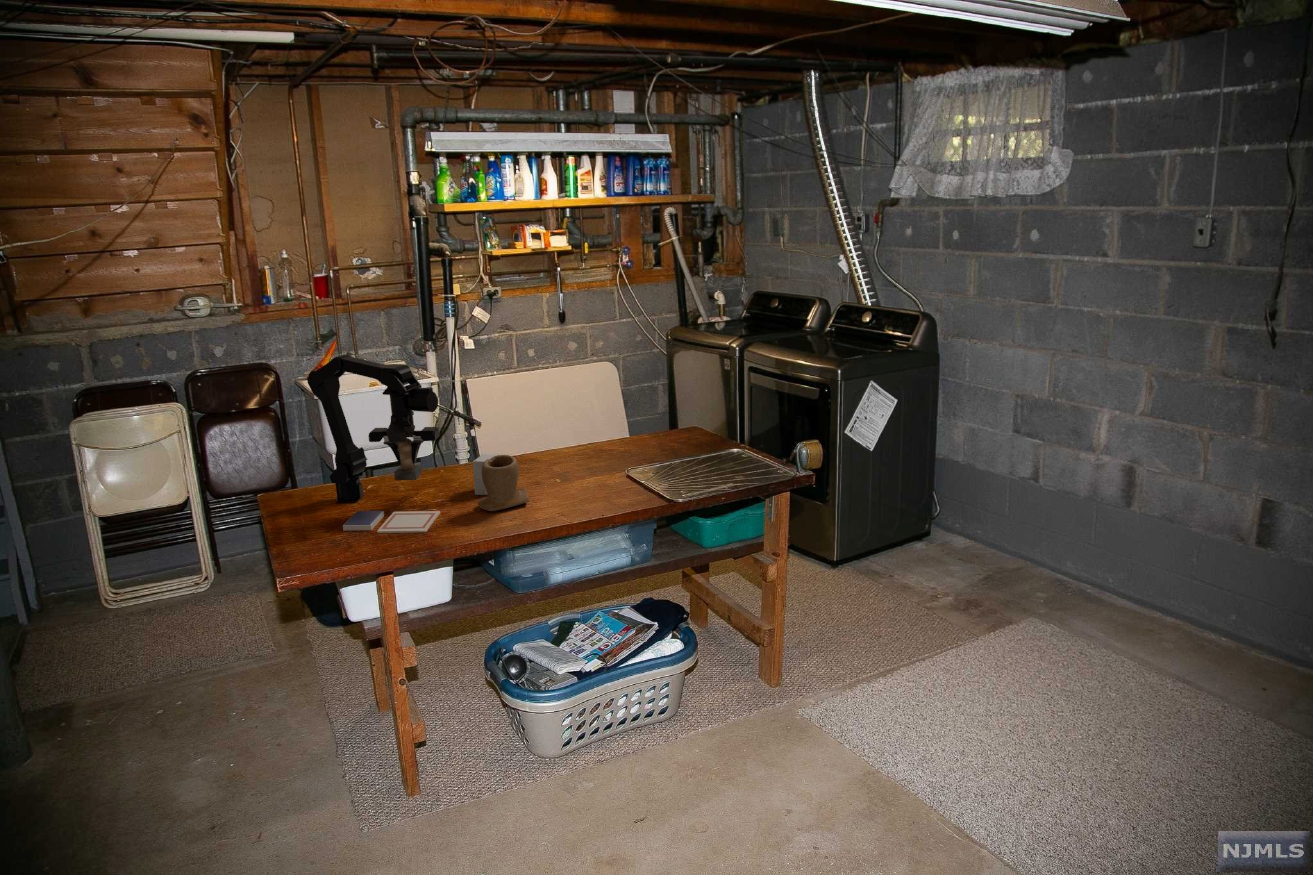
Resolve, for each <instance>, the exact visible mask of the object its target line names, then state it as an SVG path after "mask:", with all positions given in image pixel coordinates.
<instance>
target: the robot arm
mask: <svg viewBox="0 0 1313 875" xmlns="http://www.w3.org/2000/svg"><path fill="white" fill-rule="evenodd" d="M345 373H349V374H352V375H358V376H362V377H366V378H371V379H374V380H376V381H378V382H379V383H380V384H381V385H384V386H385V387H386V388H385V390H383V392H381V393H382V395H385V396H389V401H390V410H391V415H390V423H389V425H388V427H374V428H373V429H372V430H371V431H370V432H369V433H368V442H369V443H380V442H381V441H382V440H383V442H382V443H383V445H387V446H388V447H389V448H390V449H391V451H392V452H393V454H394V456H395V458H396V460H397V462H398V464H399V465H401V462H400V452H399V450H398V447H397V444H398V442H405V441H406V438H412V440H411V441H412V442H411V445H412V461H413V464H414V465H415V464H416V460H417V458H418V454H419V451H420V449H421V445H422V444H423V443H424V442H435V441H436V440H437V439H438V438H439V437H440V436H441V435H440V429H439V427H438V426H424V427H423V429H421V430H415V429H416V425H415V423H414V422H415V420H414V414H415V413H414V412H424V413H434V412H435V411H436V410H437V409H438V405H439V398H438V396H437V394H436V392H435V391H434V388H433V387H431V386H427V387H422V384H421V383H420V381H418V379H417V378H416V376H415V375H414V374H413V371H412V369H411V368H410V366H409V365H407V364H403V363H389V364H388V363H386V364H385V363H384V364H382V363H377V362H374V361H369V360H365V359H362V358H358V357H353V356H350V355H348V354H341V355H338V356H334V357H333V358H332V359H331V360H329V362H327V363H325V364H324V365H323V366H321V367H319V368H318V369H316V370H313V371H310V372H309V374H308V376H307V377H306V378H307V379H306V380H307V385H308V386H309V388H310V391H311V393H312V395H314V396H315V397H316V398H317V399H318V400H319V401H320V403H321V405H322V408H323V411H324V414H325V418H326V421H327V425H328V426H329V427H328V428H329V430H330V432H331V436H332V439H333V443H334V445H335V448H336V450H335V457H334V463H335V469H334V470H333V471H332V472H331V474H330V475H329V479H330V480H329V481H330V482H331V483H332V484H334V485H335V491H336V499H335V500H334V502H335V503H337V504H338V503H340V504H341V503H358V502H359V501H360V500H361V499H362V498H363V497H364V495H365V494H364V490H363V483H362V482H361V479H360V478H361V477H362V476H363V475H364V471H365V470H366V467H367V465H368V463H367V461H368V458H367V456H366V453H365V450H364V447H358V446H357V445H356V444H354V443H355V442H354V440H353V438H352V434H351V432H350V428H349V425H348V421H347V419H346V416H345V412H344V408H343V406H342V404H341V400H340V398H339V393H340V389H341V384H340V378H341V377H342V376H343V375H344V374H345Z"/></svg>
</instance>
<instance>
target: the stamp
mask: <svg viewBox="0 0 1313 875" xmlns="http://www.w3.org/2000/svg"><path fill="white" fill-rule="evenodd" d="M412 441H413V440H412V439H410V438H409V437H407V438H406V441H405V442H398V444H397V447H398V450H399V452H400V462H401V464H400V465H399V466H398V468H397V469H396V470H395V471H394V473H393V474H394V480H395V481H417V480H418V479H419V478H420V476H421V475H422V474H423V472H422V471H423V470H422V465H419V464H418V465H415V464H413V461H412V445H411V442H412Z"/></svg>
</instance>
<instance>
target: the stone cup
mask: <svg viewBox="0 0 1313 875" xmlns="http://www.w3.org/2000/svg"><path fill="white" fill-rule="evenodd" d="M496 455H497V456H494V457H492V458H490V459H487V460H486V461H485V462H484V463H483V465H482V480H483V483H484V485H485V488H486V490H487V494H488V495H487V496H485V497H482V498H480V499H478V500H477V505H478V507H480V509H483V510H485V511H489V512H495V511H500V510H505V509H508V508H511V507H512V508H513V507H516V506H520V505H523V504H527V503H529V502H530V500H531V499H530V497H529V495H528V493H527V489H526V488H525V487H521V488H517V486H518V482H519V475H520V467H519V462H518V460H517V459H516V458H515V457H514V456H512V455H509V454H496Z"/></svg>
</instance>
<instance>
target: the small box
mask: <svg viewBox="0 0 1313 875" xmlns="http://www.w3.org/2000/svg"><path fill="white" fill-rule="evenodd" d="M497 455H498V454H495V453H494V454H491V453H490V454H489V453H488V454H487V453H482V454H481V455H480V456H478V457H477V458H475V459H474V460H473V461H472V470H473V471H472V473H473V484H474V494H475V495H477V496H480V495H481V496H488V494H487V490H486V488H485V485H484V483H483V480H482V465H483V463H484V462H485V461H486V460H487V459H490V458H492V457H494V456H497Z"/></svg>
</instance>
